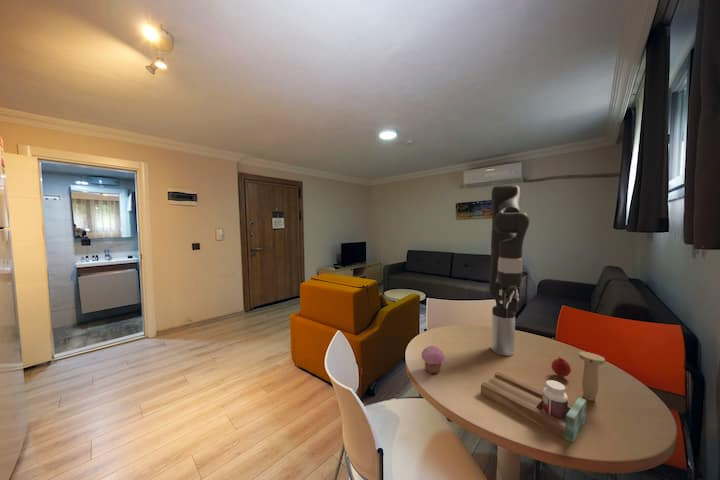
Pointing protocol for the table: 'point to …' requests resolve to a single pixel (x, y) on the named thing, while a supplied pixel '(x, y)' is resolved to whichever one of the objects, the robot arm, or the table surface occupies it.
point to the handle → (590, 374)
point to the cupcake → (432, 358)
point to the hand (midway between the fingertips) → (508, 314)
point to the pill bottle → (555, 400)
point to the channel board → (534, 405)
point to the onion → (561, 367)
